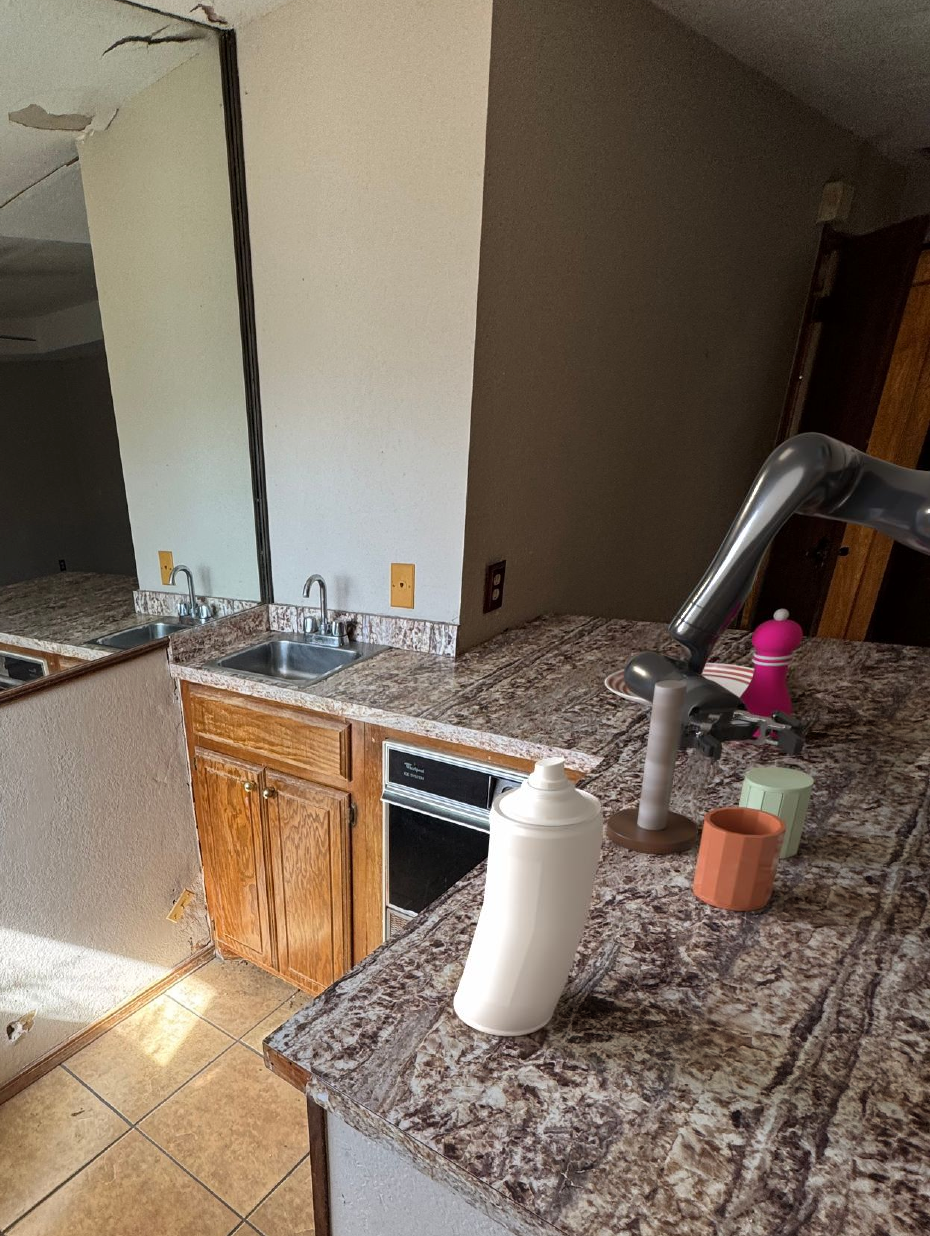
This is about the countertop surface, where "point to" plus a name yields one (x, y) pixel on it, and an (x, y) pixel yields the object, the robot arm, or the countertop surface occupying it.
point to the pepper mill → (772, 666)
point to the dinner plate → (722, 674)
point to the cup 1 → (780, 799)
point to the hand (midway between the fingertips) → (757, 750)
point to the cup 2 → (738, 858)
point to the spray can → (531, 902)
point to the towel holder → (657, 784)
